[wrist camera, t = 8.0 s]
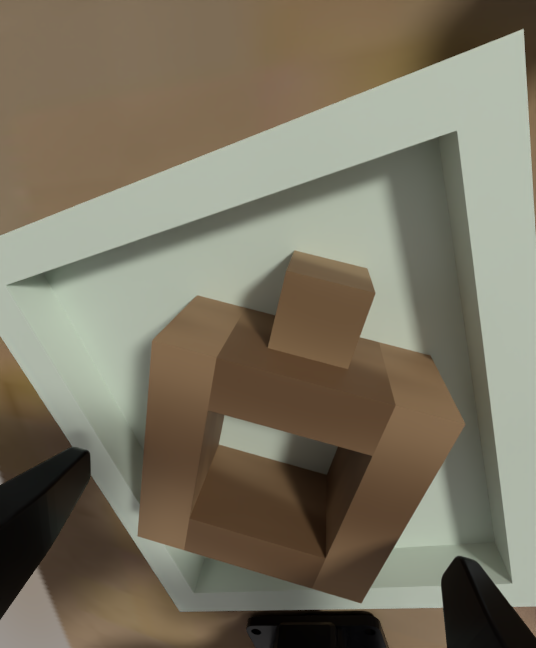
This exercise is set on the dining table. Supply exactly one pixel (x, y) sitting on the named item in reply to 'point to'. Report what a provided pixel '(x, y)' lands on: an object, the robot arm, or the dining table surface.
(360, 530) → the ring
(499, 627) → the robot arm
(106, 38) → the dining table surface
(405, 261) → the tray
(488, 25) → the dining table surface
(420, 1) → the dining table surface
